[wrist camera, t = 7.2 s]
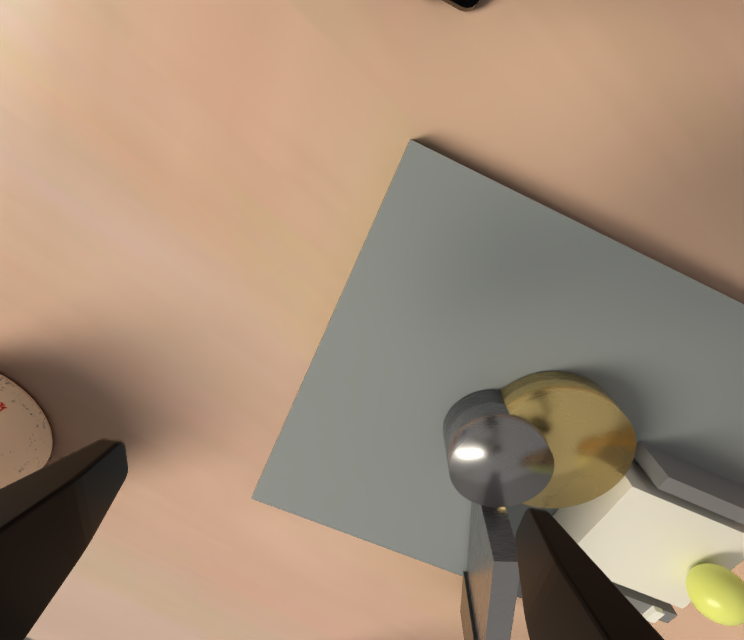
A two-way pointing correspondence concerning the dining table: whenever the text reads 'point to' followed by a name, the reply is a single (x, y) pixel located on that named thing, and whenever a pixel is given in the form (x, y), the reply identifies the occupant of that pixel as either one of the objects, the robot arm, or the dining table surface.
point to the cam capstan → (526, 474)
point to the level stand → (500, 362)
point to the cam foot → (662, 546)
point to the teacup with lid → (21, 434)
